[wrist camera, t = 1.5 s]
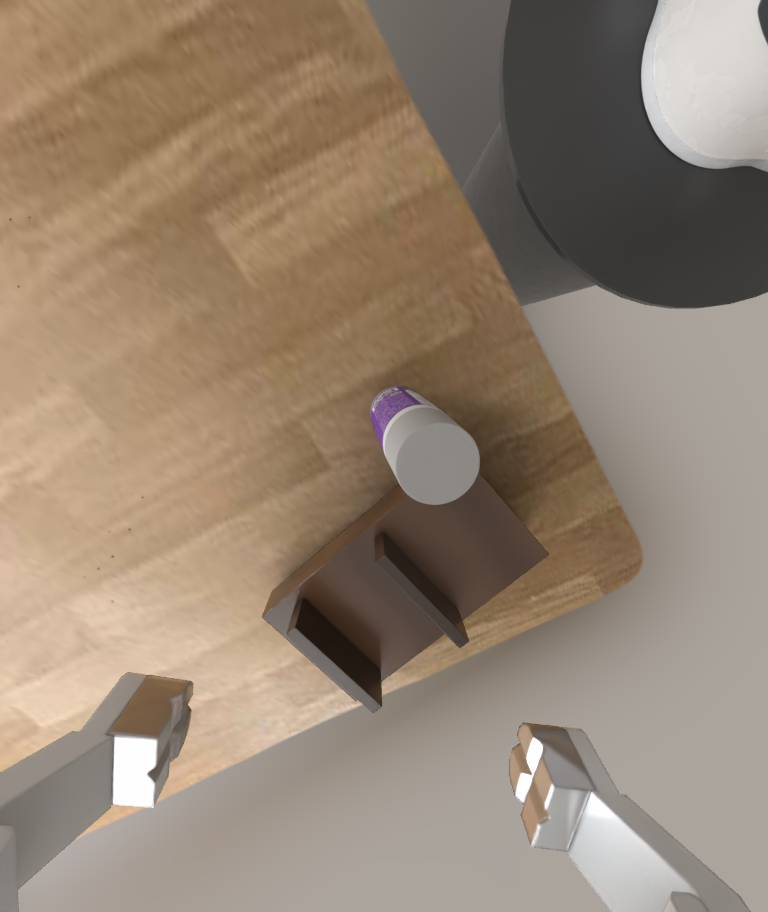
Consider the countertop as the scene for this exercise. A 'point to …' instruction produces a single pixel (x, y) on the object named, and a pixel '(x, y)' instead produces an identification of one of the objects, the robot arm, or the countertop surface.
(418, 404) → the container
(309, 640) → the brown two-slot stand
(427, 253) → the countertop surface
